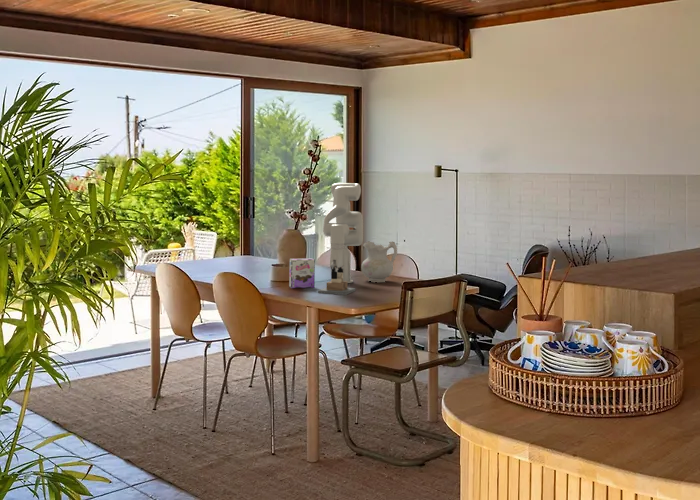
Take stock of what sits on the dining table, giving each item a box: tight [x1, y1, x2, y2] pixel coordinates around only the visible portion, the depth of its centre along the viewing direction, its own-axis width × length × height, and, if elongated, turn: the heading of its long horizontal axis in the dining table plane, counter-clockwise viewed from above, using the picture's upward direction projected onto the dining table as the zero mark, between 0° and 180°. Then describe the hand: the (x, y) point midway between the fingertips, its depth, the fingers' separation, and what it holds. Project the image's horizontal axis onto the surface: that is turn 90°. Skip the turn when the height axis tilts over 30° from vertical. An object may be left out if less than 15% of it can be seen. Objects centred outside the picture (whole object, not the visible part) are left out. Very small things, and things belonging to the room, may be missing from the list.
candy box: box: [288, 257, 316, 289], centre depth 479 cm, size 14×6×16 cm, turn 105°
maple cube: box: [330, 272, 343, 283], centre depth 462 cm, size 5×5×5 cm
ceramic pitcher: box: [361, 241, 398, 283], centre depth 509 cm, size 22×20×25 cm
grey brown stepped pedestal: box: [317, 280, 356, 295], centre depth 462 cm, size 16×16×6 cm
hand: (337, 277), depth 462 cm, fingers open, 9 cm apart
